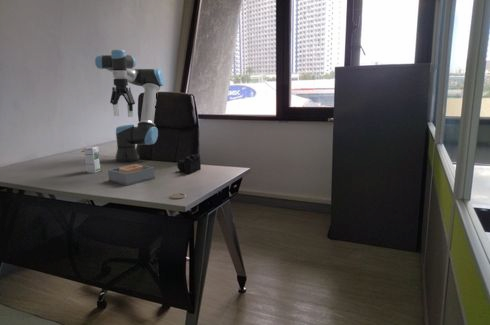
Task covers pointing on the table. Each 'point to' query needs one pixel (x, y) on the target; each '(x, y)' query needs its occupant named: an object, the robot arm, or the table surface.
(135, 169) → the small crate
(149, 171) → the large crate
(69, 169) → the table surface
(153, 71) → the robot arm
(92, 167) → the syrup box
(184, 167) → the camera
